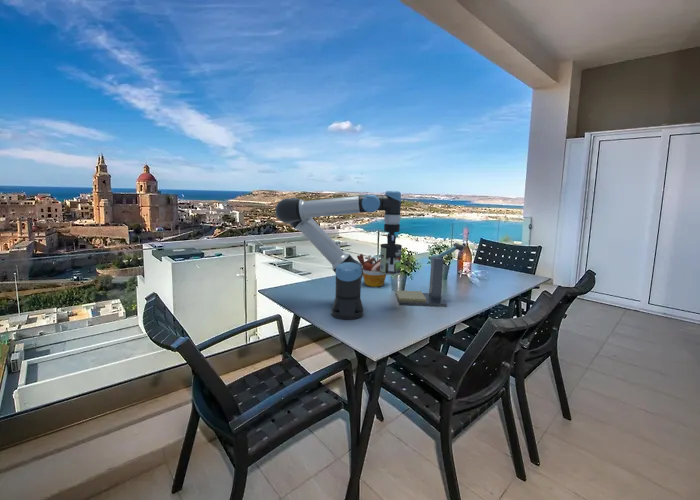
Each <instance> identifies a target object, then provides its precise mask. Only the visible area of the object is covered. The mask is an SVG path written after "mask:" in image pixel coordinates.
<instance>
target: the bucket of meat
mask: <svg viewBox="0 0 700 500" xmlns="http://www.w3.org/2000/svg"><path fill="white" fill-rule="evenodd" d="M356 257H357V261H358V262H359V263H360V264H361V265H362V267H363V276H362V279H363V283H364V284H365V285H366V286H367V287H370V286H371V287H370V288H379V286H380V287H382V286H383V285H385V281H386V277H387V275H384V274H381V273H380V258H379V259H378V260H376V258H375V257H372V255H370V254H369V255H368V256H365V257H364V255H363V254H362V253H360V254H359V255H357V256H356Z"/></svg>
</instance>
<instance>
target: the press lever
mask: <svg viewBox="0 0 700 500" xmlns="http://www.w3.org/2000/svg"><path fill="white" fill-rule="evenodd" d="M456 250H457V251H460V252H461V251H463V250H464V246H463V245H462V244H460V243H458V242H454V243H453V246H452V247H450V248H448V249H447V250H445V251H442V252H441V253H438V254H432V255H431V256H430V259H431V258H432V257H442V258H443V257H445V256H447V255H449V254H451V253H453V252H455V251H456Z"/></svg>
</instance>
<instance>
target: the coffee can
mask: <svg viewBox="0 0 700 500" xmlns="http://www.w3.org/2000/svg"><path fill="white" fill-rule="evenodd" d="M402 247H403V246H402V244H398V243H395V260H394V271H388V263H389V258H388V256H389V248H390V246H389V244H387V243H381V244H380V258H379V259H380V273H381V274H384V275H386V276H398V275H401V265H402V262H401V261H402ZM391 255H393V254H391Z"/></svg>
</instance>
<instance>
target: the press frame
mask: <svg viewBox="0 0 700 500" xmlns="http://www.w3.org/2000/svg"><path fill="white" fill-rule="evenodd" d="M444 260H445V259H444V258H443V257H432V258H431V257H430V261H431V262H430V275H429V276H430V277H429V287H428V288H429V289H428V290H429V291H428V292H422V291H420V290H419V291H418V290H399V289H398V290H395V297H396V300H397V303H398V305H399V306H417V307H446V308H447V305H448V304H447V302H446V301H445V300H444V299H443V297H442V288H443V276H444V274H443V273H444Z"/></svg>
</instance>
